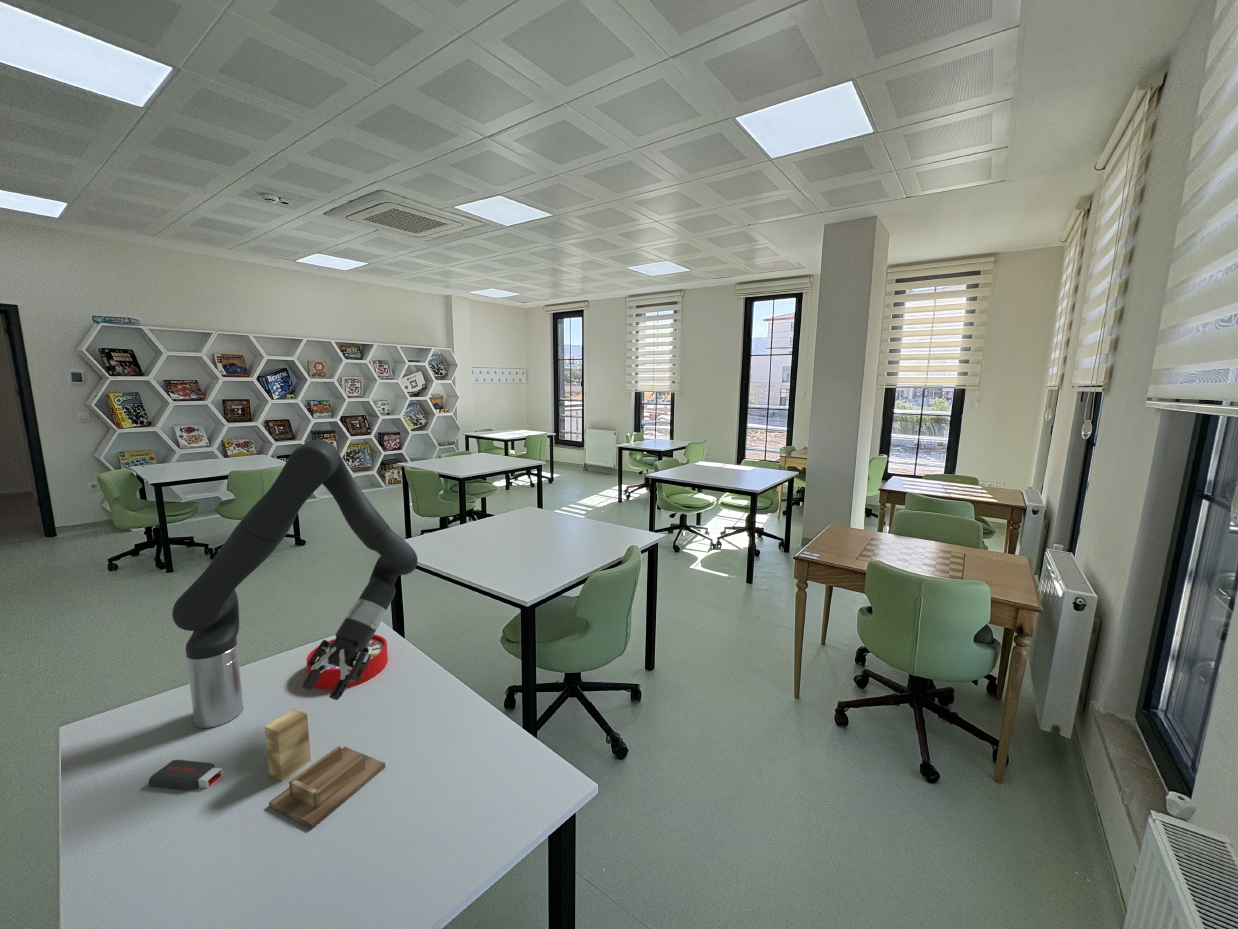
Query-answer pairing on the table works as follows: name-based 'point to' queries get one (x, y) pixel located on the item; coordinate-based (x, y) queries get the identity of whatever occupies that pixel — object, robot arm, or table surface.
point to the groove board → (326, 785)
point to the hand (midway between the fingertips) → (319, 694)
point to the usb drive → (186, 775)
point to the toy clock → (374, 666)
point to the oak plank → (287, 744)
